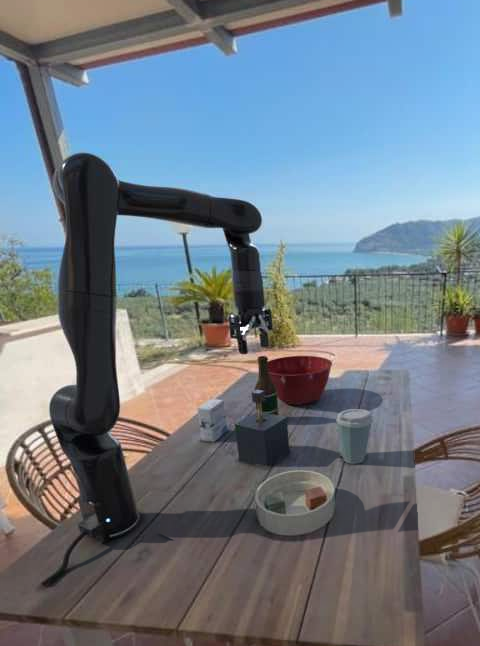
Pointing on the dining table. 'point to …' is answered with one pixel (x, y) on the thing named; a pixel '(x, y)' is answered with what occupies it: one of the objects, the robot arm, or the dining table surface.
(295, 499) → the bowl
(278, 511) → the sage block
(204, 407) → the ink box
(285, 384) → the mixing bowl
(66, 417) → the robot arm
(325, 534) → the dining table surface
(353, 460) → the disposable coffee cup
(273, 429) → the stick stand
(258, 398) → the stirring stick
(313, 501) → the terracotta block
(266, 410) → the beer bottle
